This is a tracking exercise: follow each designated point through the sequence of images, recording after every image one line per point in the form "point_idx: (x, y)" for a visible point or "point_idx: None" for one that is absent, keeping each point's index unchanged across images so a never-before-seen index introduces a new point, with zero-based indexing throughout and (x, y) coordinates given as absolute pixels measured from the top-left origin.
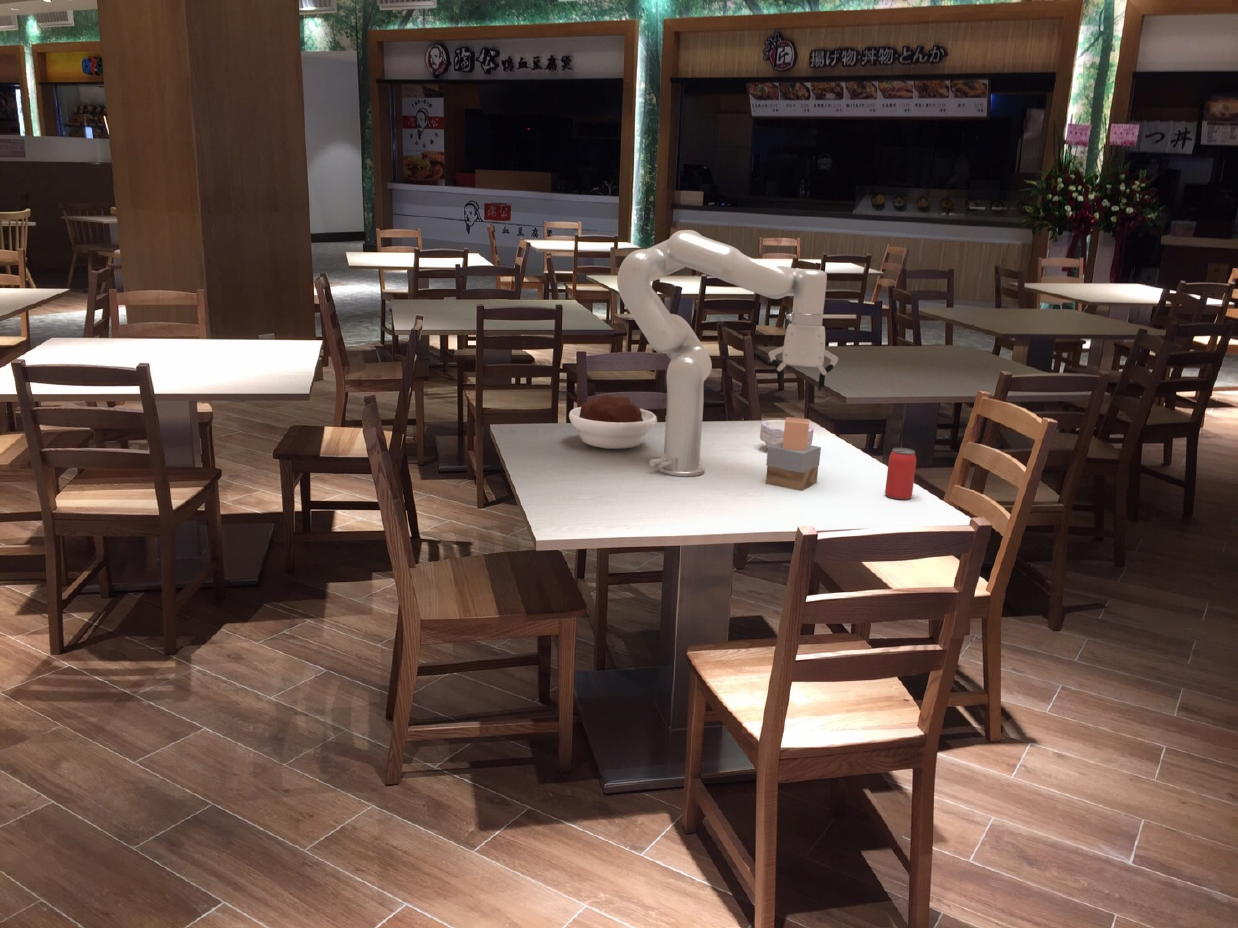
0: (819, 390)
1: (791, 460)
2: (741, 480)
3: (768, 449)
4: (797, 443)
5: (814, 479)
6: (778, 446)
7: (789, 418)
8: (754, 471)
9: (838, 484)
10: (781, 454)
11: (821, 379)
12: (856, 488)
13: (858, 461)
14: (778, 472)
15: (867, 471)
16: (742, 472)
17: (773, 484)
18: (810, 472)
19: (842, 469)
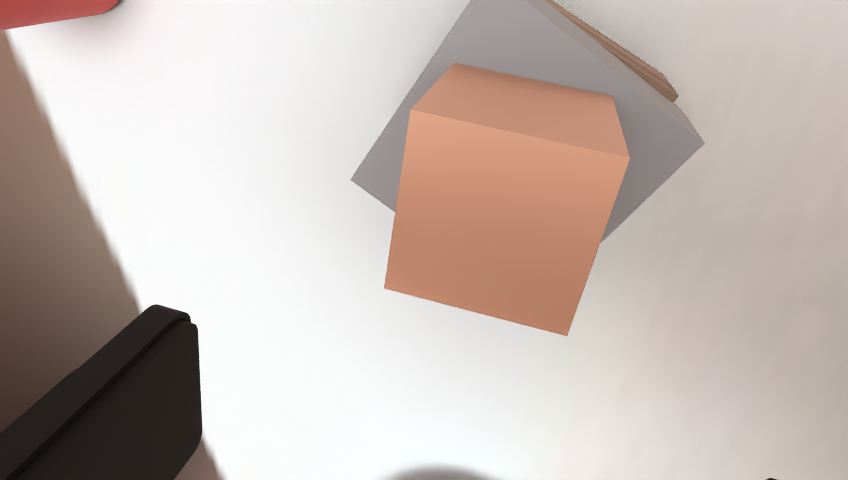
0: (177, 312)
1: (558, 19)
2: (779, 121)
3: (695, 134)
4: (511, 86)
5: None
6: None
7: (548, 290)
8: (654, 281)
9: (315, 118)
10: (618, 70)
11: (23, 422)
12: (245, 64)
13: (229, 419)
14: (616, 52)
15: (202, 310)
16: (720, 261)
17: (628, 52)
18: None
19: (285, 329)
